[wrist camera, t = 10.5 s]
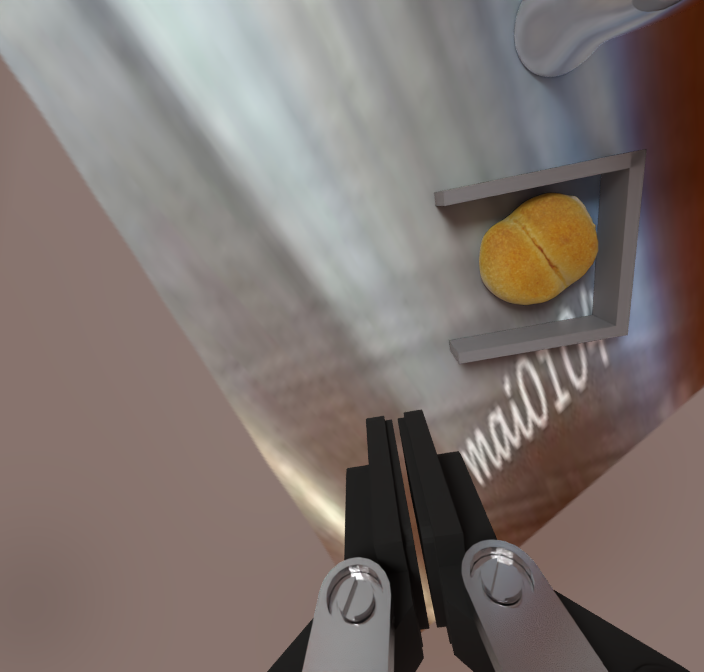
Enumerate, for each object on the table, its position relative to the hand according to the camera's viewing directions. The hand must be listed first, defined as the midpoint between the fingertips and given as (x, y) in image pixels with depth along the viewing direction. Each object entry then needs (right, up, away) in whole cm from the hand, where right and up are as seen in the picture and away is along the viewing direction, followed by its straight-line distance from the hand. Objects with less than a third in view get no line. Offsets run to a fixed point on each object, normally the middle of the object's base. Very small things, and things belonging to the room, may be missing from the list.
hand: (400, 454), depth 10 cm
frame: (+13, +10, +19) cm, 25 cm away
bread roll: (+14, +11, +19) cm, 26 cm away
